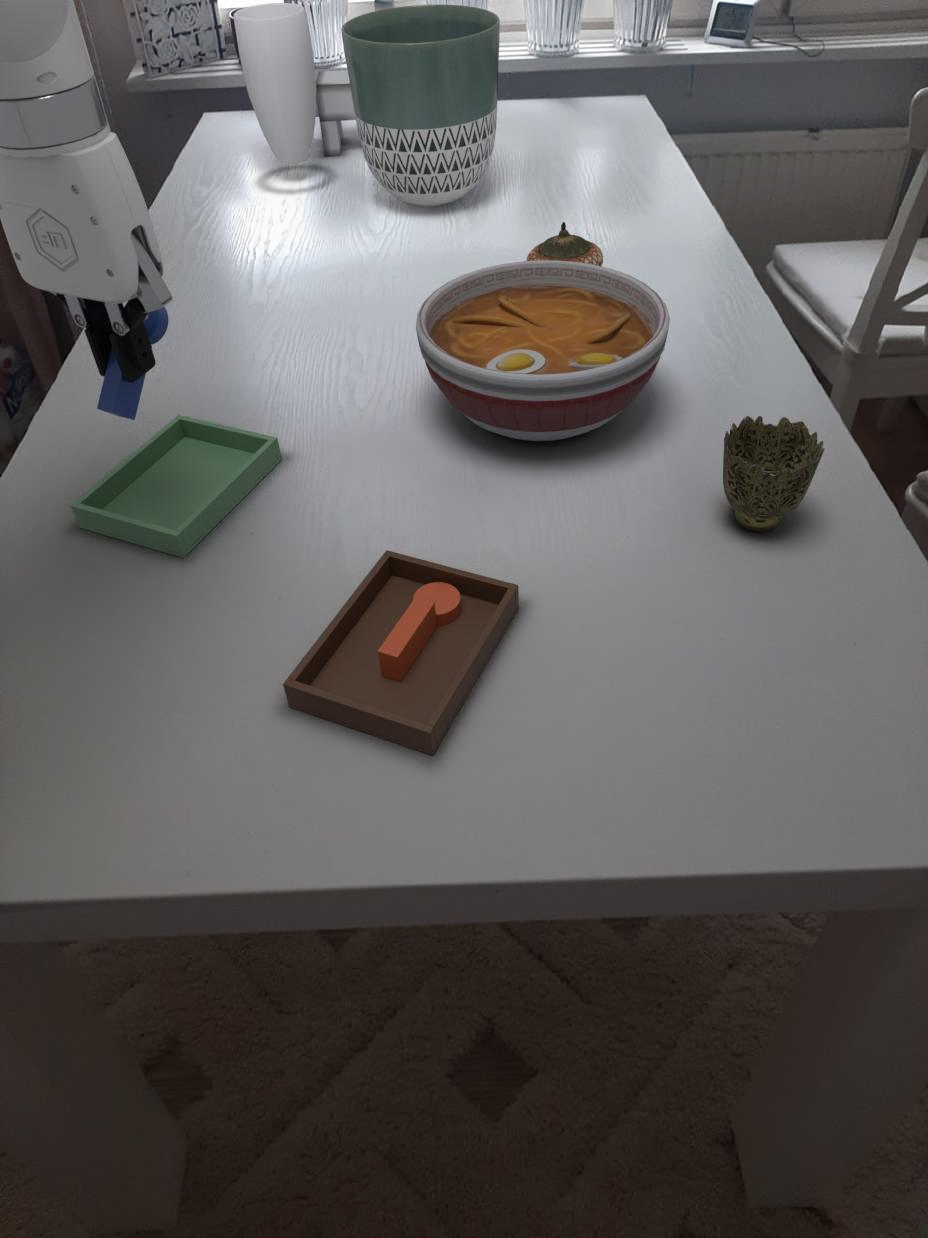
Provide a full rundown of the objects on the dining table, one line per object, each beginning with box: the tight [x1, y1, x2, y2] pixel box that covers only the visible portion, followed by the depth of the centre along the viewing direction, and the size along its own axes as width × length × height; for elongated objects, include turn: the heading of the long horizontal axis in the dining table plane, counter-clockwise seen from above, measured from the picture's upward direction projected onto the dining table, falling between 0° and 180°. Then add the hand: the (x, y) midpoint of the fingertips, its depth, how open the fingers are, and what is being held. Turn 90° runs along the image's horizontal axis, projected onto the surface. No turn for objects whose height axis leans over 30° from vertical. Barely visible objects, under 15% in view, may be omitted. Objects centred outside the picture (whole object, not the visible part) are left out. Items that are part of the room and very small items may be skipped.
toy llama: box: [315, 0, 396, 157], centre depth 142 cm, size 8×18×20 cm, turn 92°
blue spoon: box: [96, 306, 169, 421], centre depth 73 cm, size 10×4×3 cm
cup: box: [233, 2, 317, 165], centre depth 132 cm, size 10×10×22 cm
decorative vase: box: [722, 415, 825, 533], centre depth 75 cm, size 8×7×8 cm
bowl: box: [415, 260, 671, 442], centre depth 88 cm, size 23×23×10 cm
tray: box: [282, 550, 520, 756], centre depth 68 cm, size 15×11×2 cm
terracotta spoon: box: [378, 582, 461, 682], centre depth 68 cm, size 10×4×3 cm, turn 156°
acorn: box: [525, 221, 604, 267], centre depth 102 cm, size 8×8×10 cm
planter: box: [341, 4, 501, 207], centre depth 124 cm, size 20×20×21 cm
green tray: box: [70, 414, 283, 559], centre depth 83 cm, size 15×11×2 cm
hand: (128, 369), depth 73 cm, fingers closed on blue spoon, 1 cm apart
